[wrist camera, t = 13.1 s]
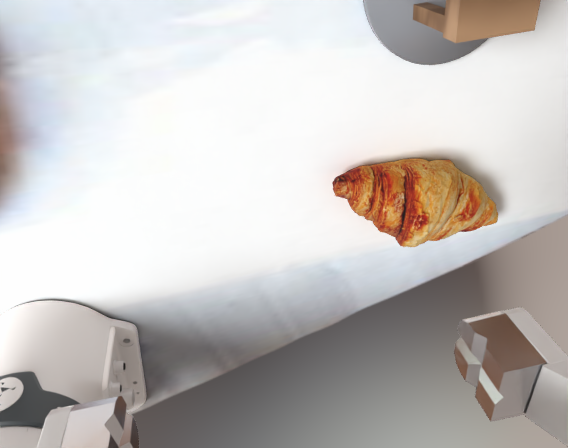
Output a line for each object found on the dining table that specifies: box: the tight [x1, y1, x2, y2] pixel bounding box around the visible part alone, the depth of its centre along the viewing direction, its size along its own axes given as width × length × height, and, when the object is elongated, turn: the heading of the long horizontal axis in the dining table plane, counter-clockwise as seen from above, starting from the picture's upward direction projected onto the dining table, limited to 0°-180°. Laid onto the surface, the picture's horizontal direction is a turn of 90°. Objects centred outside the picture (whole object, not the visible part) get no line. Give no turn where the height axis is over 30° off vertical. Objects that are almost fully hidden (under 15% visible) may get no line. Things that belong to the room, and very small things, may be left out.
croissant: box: [333, 159, 498, 247], centre depth 47 cm, size 21×10×8 cm, turn 73°
